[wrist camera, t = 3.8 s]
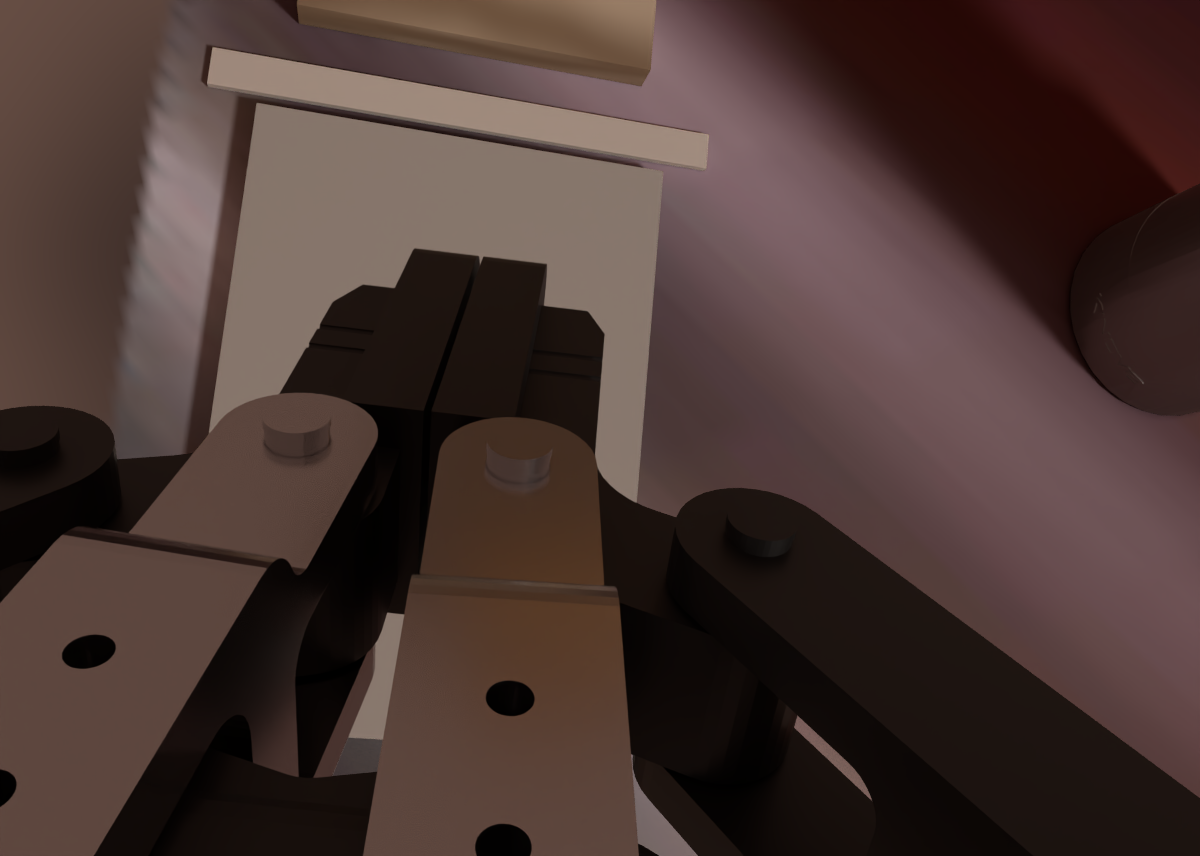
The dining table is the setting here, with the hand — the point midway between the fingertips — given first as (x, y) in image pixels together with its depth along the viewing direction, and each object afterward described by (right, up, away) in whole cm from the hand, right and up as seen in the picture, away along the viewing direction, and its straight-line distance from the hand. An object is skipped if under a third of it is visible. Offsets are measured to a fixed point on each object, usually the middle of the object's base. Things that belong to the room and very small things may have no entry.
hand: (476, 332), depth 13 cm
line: (-4, +12, +32) cm, 34 cm away
